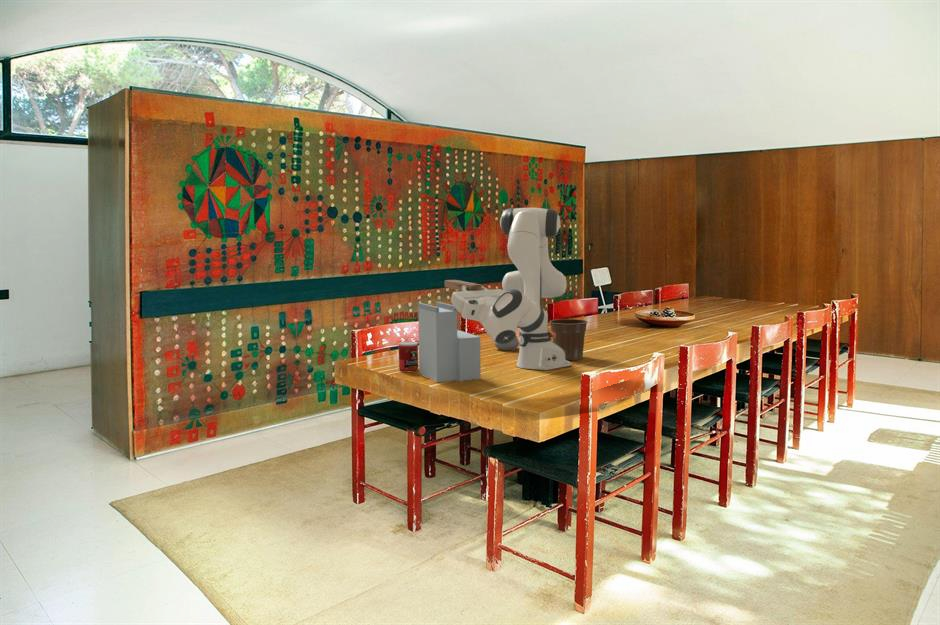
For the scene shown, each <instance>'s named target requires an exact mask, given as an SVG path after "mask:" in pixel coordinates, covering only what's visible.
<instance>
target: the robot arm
mask: <svg viewBox="0 0 940 625" xmlns="http://www.w3.org/2000/svg"><path fill="white" fill-rule="evenodd" d="M499 225H500V229H501V232H502V234H503V235H505V236H507V237H508V238H507V239H508V240H507V254H508V257H509V260H511V262H512V263H513V265H514V266H515V267H516V269H517V270H514V271H509V272H507V273H505V275H504V276H503V279H502V280H501V285H502V289H501V288H497V289H488V288H486V287H485V286H483V285H482V290H477V291H467V289H468V287H467V285H463V286H462V290H463V291H462V290H460V291H454V292H452V294H451V298H450V302H451V305H454V307H455V308H456V310H457V312H459V313H460V314H461V318H463V319H464V320H470V321H476V322H479V323H480V324H481V325H482V326H483V329H484V331H485V332H486V334H487V335H488V336H489V338H490V339H491V340H492V341H494V343H495V342H496V343H498V344H507V343H510V342H511V341H513V340H514V339H515V337H516V336H517V328H519V329H520V331H519V333H518V334H519V335H518V337H519V338H518V341H519V350H518V357H517V362H516V365H515V366H517V368H520V369H527V370H541V371H542V370H543V371H548V370H549V371H550V370H553V369H559V368H564V367H569V366H572V363H571V362H570V360H567V359H565V353H564V351H563V349H562V348H560V347H559V346H558V345H557V344H555V343H554V342H553V338H555V337H556V333H552V332H550V331H548V330H549V329H548V327H549V326H548V325H549V324H548V322H549V318H548V317H549V315H548V312H547V311H546V309H544V308H543V304H542V299H551V298H552V299H553V298H557V297H562V296H563V295H564V294H565V292H566V289H567V285H568V284H567V283H568V282H567V279H566V276H565V275H564V274H563V273H562V272H561V271H559V270H558V269H557V268H556V267H555V266H553V264H552V262H551V260H550V256H549V243H548V242H549V238H553V237H556V235H557V234H558V232H559V231H560V227H561V218H560V215H559V212H558V211H557V210H555V209H551V208H541V207H516V208H514V207H510V208H509V207H508V208H506V209H505V210H503V212H502V214H501V216H500V219H499ZM517 326H518V327H517Z"/></svg>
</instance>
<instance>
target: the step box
mask: <svg viewBox="0 0 940 625" xmlns="http://www.w3.org/2000/svg"><path fill="white" fill-rule="evenodd" d="M417 304H418V305H417V308H418V309H417V310H418V313H417V314H418V371H419V375H421V374H422V375H421V376H423V375H424V376H423V377H425V376H426V377H425V378H427V377H428V378H427V379H429V378H430V379H429V380H431V379H432V380H431V381H433V380H434V381H433V382H435V381H436V382H435V383H437V382H438V383H442V382H441V381H447V382H452V381H451V380H455V381H458V380H459V381H458V382H465V380H467V381H473V380H472V379H475V380H481V378H482V377H481V376H482V375H481V372H482V371H481V368H482V366H481V336H479V335H476V334H474V333H473V334H472V333H469V332H466V331H463V330H459V329H458V311H457V310H456V308H455V307H454V305H453V304H450V303H444V302H441V301H435V306H434V305H430V304H427V303H422V302H418V303H417Z"/></svg>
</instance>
